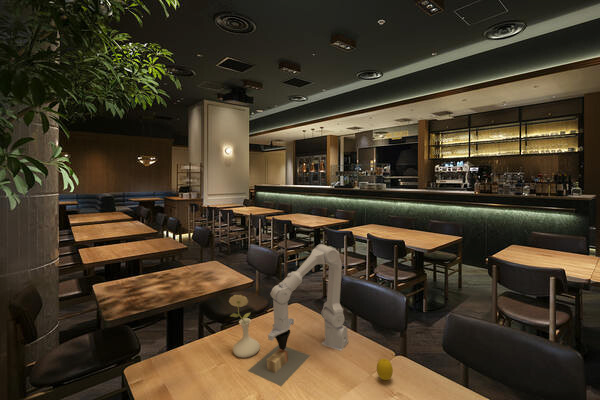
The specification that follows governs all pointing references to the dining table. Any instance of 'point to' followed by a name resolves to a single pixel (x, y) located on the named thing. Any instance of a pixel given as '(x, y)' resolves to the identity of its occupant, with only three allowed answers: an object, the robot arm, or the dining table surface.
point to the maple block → (277, 360)
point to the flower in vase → (246, 344)
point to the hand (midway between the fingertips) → (282, 348)
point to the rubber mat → (285, 371)
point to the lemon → (384, 369)
